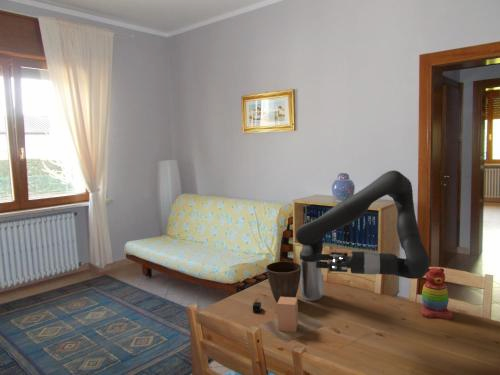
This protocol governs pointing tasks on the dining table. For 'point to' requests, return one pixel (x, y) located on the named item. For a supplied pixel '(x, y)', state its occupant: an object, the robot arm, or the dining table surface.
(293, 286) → the plant pot
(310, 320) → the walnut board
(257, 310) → the black faceted lump
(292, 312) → the pink rectangular block
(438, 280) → the stacking bear
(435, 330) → the dining table surface
